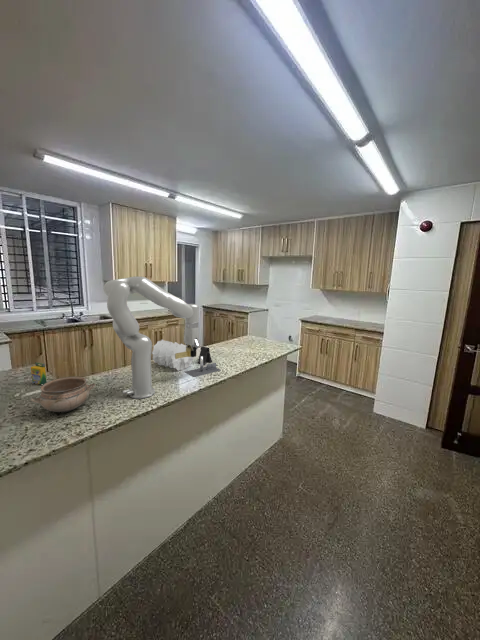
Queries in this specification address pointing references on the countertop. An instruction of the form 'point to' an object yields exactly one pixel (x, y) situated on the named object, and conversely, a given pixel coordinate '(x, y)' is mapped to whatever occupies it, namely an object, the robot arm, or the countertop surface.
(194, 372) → the mat
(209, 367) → the fixed leaf
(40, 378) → the crayon box
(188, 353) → the loose leaf
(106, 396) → the countertop surface
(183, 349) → the spiral staircase
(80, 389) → the cooking pot
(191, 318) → the robot arm
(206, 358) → the phone stand
